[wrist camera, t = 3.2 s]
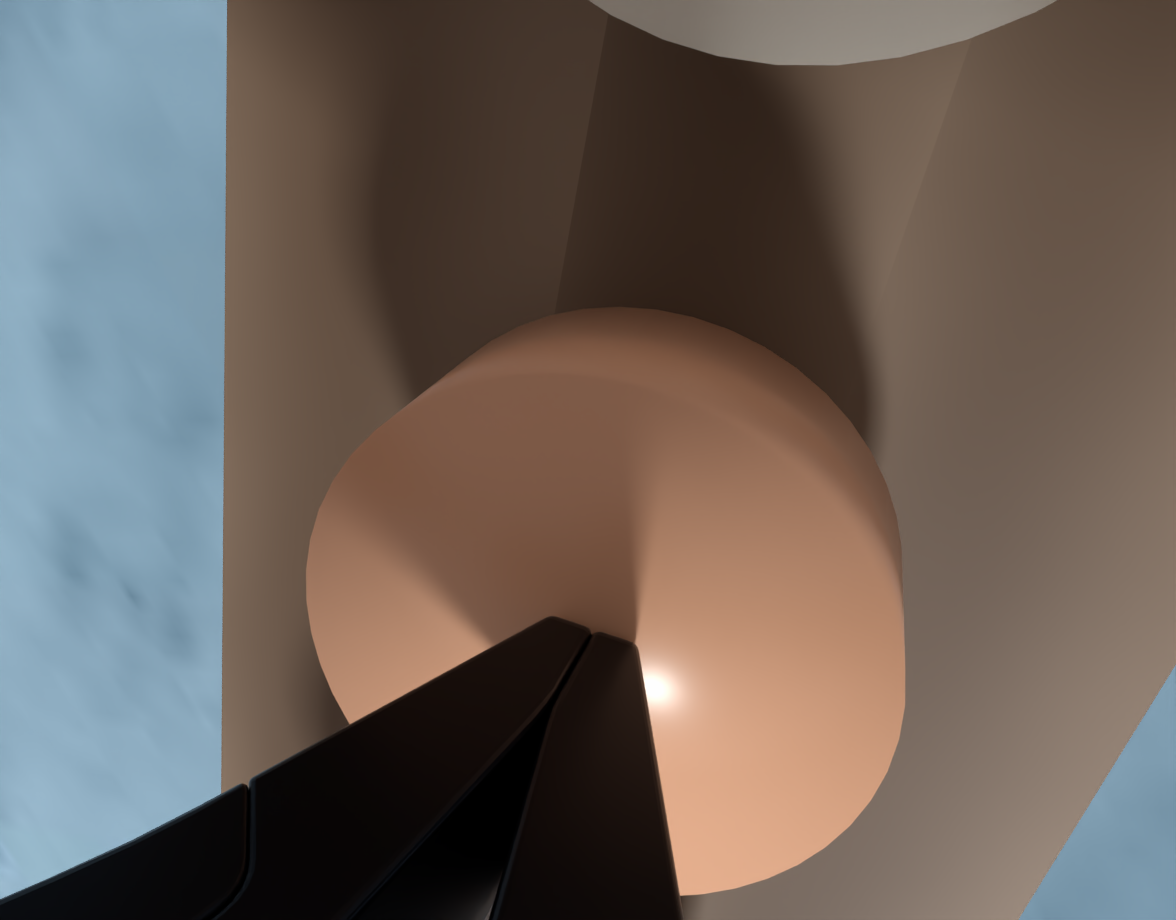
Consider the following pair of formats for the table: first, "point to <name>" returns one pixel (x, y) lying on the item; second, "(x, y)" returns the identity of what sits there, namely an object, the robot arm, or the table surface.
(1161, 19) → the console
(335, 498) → the terracotta button
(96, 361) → the table surface
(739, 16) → the cream button
